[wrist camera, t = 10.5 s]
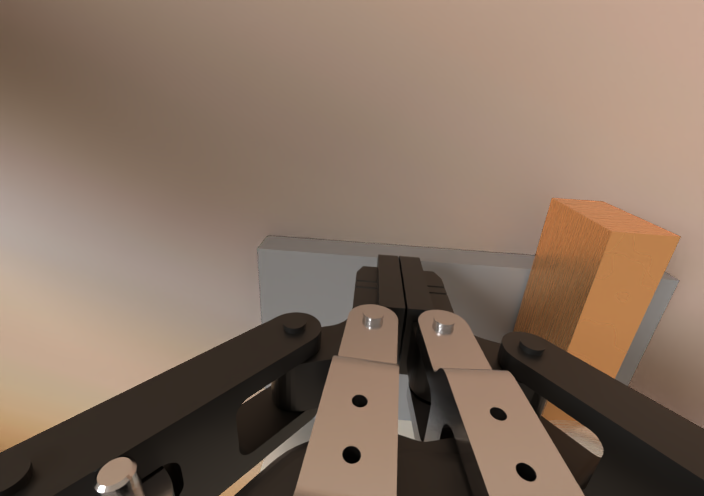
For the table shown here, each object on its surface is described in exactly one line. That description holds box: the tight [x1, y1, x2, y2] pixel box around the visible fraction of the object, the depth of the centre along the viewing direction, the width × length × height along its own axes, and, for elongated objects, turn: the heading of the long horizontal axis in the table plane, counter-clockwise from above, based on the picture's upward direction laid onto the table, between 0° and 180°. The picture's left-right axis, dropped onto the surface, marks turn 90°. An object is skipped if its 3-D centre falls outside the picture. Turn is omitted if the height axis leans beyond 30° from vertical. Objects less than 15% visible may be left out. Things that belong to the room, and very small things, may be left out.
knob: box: [513, 198, 681, 457], centre depth 12 cm, size 12×5×7 cm, turn 177°
